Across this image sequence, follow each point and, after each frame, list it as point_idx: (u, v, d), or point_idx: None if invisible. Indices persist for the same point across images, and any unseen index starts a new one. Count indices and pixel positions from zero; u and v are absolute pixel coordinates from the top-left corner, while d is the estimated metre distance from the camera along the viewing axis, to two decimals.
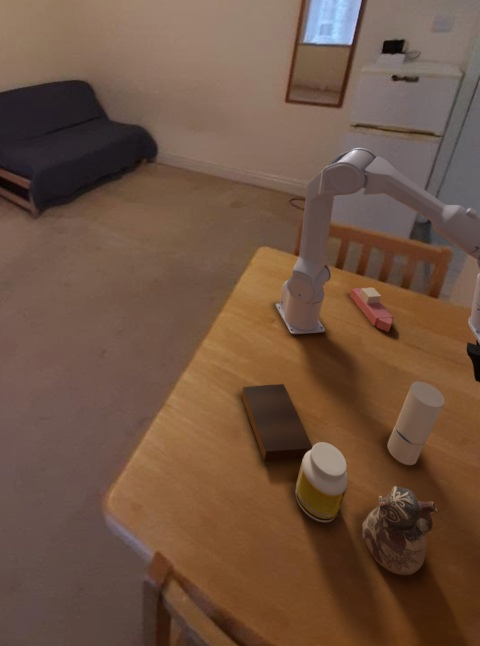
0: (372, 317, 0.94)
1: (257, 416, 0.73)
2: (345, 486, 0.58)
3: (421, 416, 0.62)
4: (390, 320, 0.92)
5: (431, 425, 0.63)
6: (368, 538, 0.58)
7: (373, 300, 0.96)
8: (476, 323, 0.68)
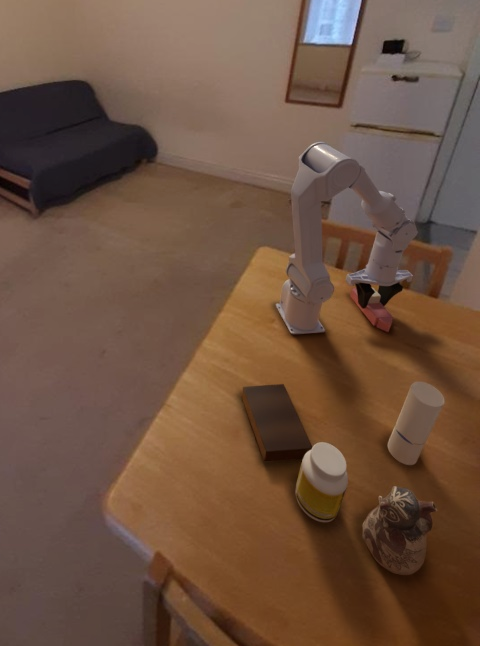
0: (372, 317, 0.94)
1: (257, 416, 0.73)
2: (345, 486, 0.58)
3: (421, 416, 0.62)
4: (390, 320, 0.92)
5: (431, 425, 0.63)
6: (368, 538, 0.58)
7: (373, 300, 0.96)
8: (395, 276, 0.91)
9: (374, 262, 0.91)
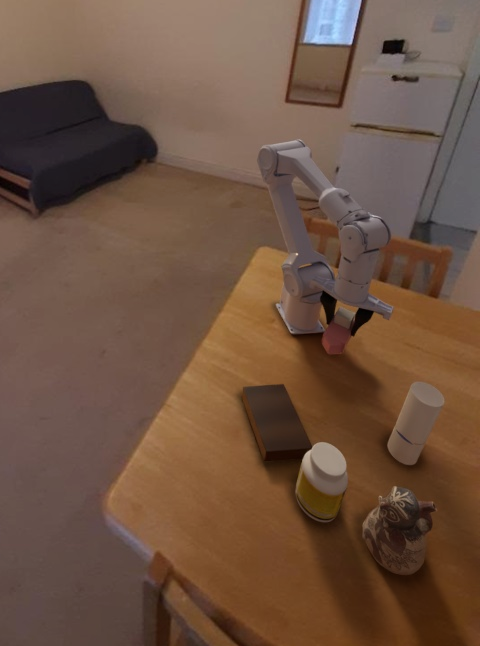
0: (324, 333, 0.82)
1: (257, 416, 0.73)
2: (345, 486, 0.58)
3: (421, 416, 0.62)
4: (336, 343, 0.79)
5: (431, 425, 0.63)
6: (368, 538, 0.58)
7: (341, 321, 0.82)
8: (359, 299, 0.76)
9: None
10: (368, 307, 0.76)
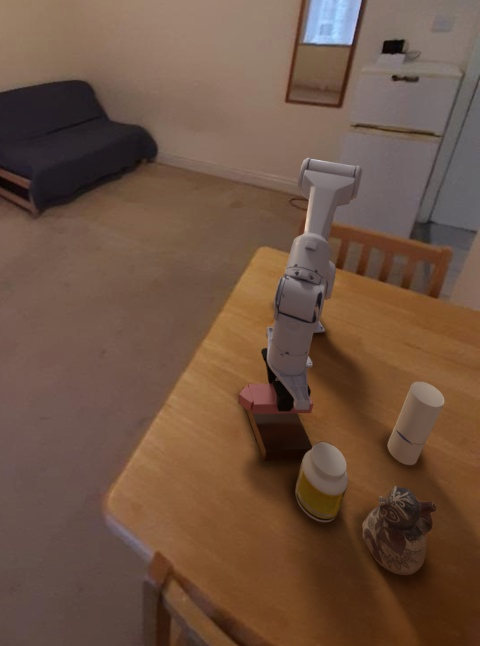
0: None
1: (257, 416, 0.73)
2: (345, 486, 0.58)
3: (421, 416, 0.62)
4: (247, 397, 0.70)
5: (431, 425, 0.63)
6: (368, 538, 0.58)
7: None
8: (279, 367, 0.65)
9: None
10: (283, 381, 0.63)
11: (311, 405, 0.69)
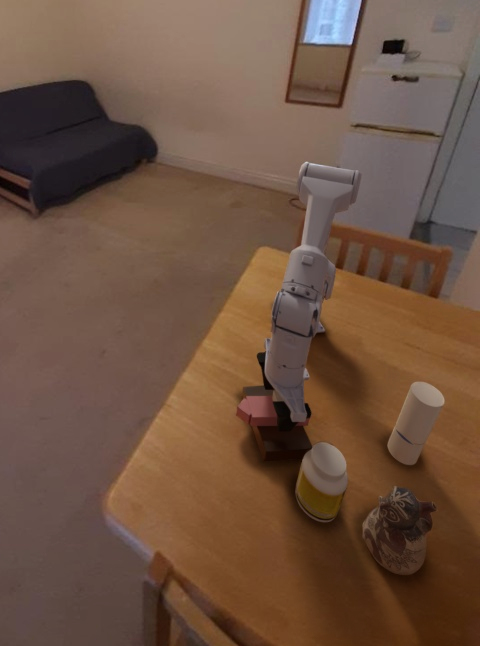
0: None
1: None
2: (345, 486, 0.58)
3: (421, 416, 0.62)
4: (245, 410, 0.71)
5: (431, 425, 0.63)
6: (368, 538, 0.58)
7: None
8: (276, 379, 0.66)
9: None
10: (280, 393, 0.65)
11: (308, 418, 0.70)
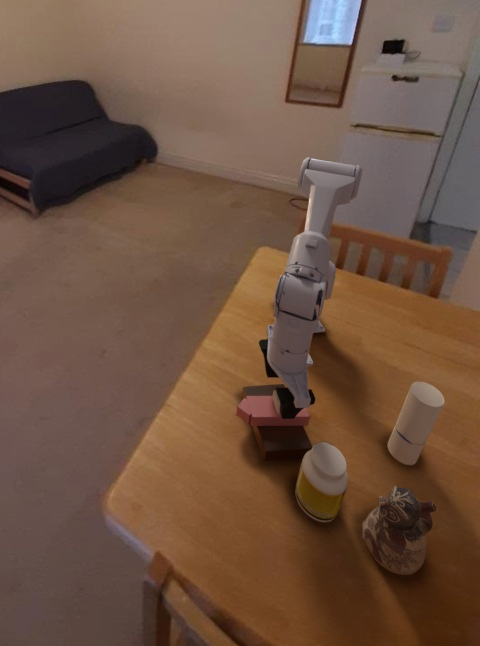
0: None
1: None
2: (345, 486, 0.58)
3: (421, 416, 0.62)
4: (245, 410, 0.71)
5: (431, 425, 0.63)
6: (368, 538, 0.58)
7: (275, 401, 0.71)
8: (279, 365, 0.64)
9: None
10: (283, 379, 0.63)
11: (308, 418, 0.70)
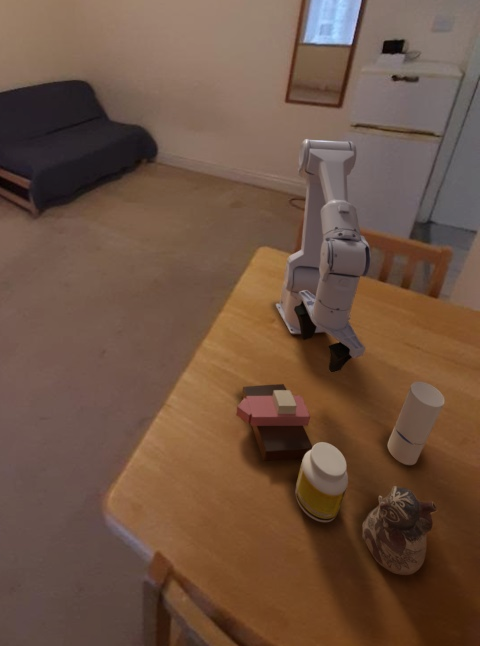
0: None
1: None
2: (345, 486, 0.58)
3: (421, 416, 0.62)
4: (245, 410, 0.71)
5: (431, 425, 0.63)
6: (368, 538, 0.58)
7: (275, 401, 0.71)
8: (328, 324, 0.70)
9: None
10: (335, 336, 0.69)
11: (308, 418, 0.70)
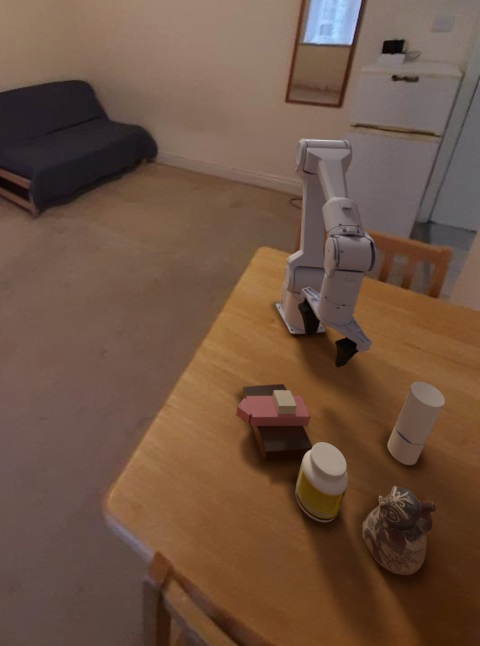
0: None
1: None
2: (345, 486, 0.58)
3: (421, 416, 0.62)
4: (245, 410, 0.71)
5: (431, 425, 0.63)
6: (368, 538, 0.58)
7: (275, 401, 0.71)
8: (334, 320, 0.71)
9: None
10: (341, 331, 0.70)
11: (308, 418, 0.70)
